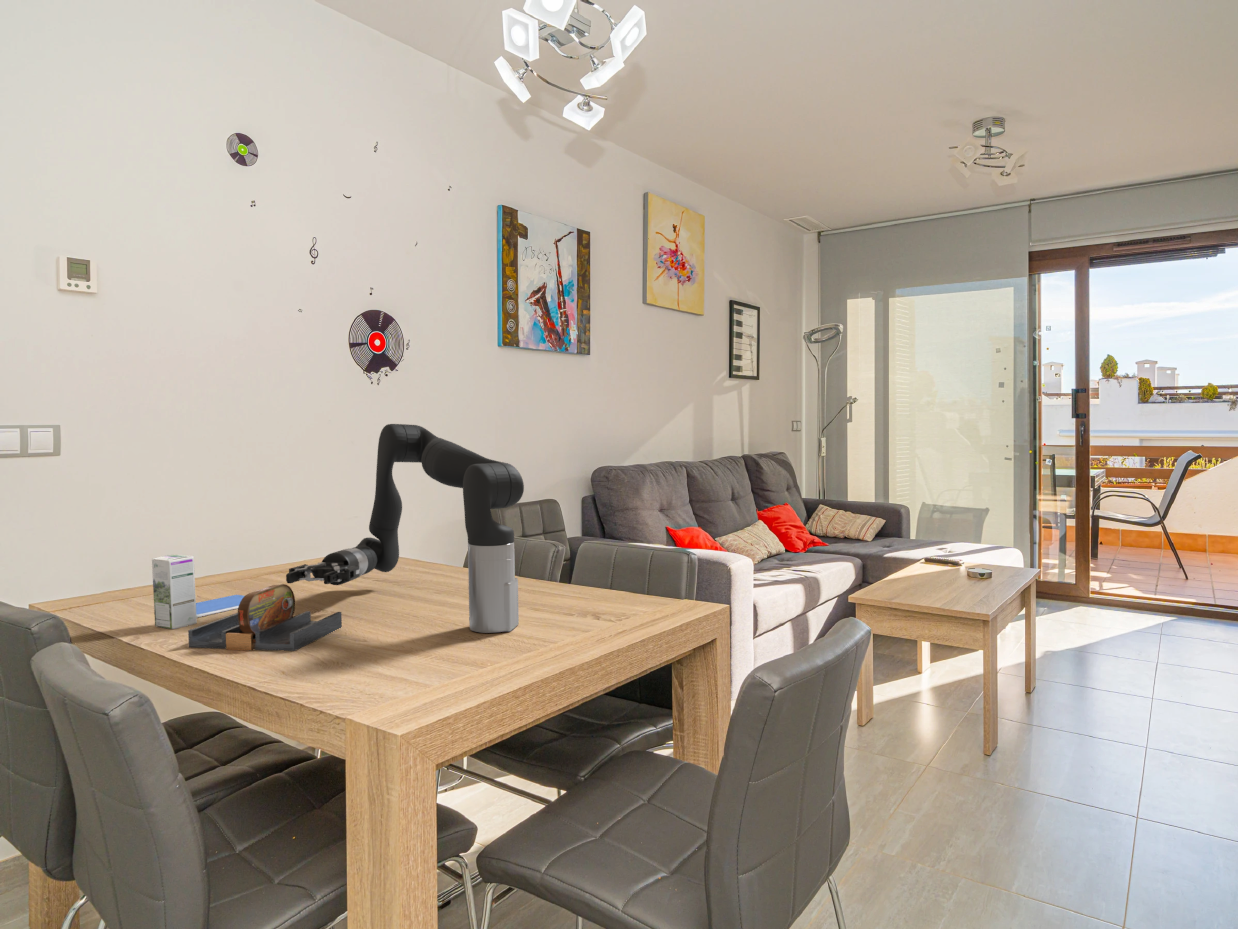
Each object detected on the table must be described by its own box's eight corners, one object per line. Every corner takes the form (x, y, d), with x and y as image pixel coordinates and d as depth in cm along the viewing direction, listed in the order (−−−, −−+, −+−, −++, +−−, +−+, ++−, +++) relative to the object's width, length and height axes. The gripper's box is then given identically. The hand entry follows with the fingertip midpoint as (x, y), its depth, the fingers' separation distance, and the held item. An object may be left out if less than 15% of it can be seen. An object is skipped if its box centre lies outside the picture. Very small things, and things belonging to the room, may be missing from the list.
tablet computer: (237, 598, 186) (237, 593, 186) (272, 603, 181) (272, 598, 181) (159, 615, 169) (159, 609, 169) (195, 621, 164) (195, 615, 163)
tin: (250, 641, 140) (249, 596, 140) (235, 640, 141) (233, 595, 140) (297, 621, 155) (296, 580, 155) (283, 621, 156) (282, 580, 155)
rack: (341, 627, 154) (341, 612, 154) (292, 652, 137) (291, 634, 137) (246, 624, 157) (246, 609, 157) (186, 648, 140) (186, 631, 140)
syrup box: (198, 623, 159) (195, 555, 159) (171, 630, 154) (168, 559, 153) (180, 621, 162) (177, 553, 161) (153, 627, 156) (150, 557, 156)
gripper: (316, 549, 178) (275, 561, 162) (373, 550, 176) (337, 562, 160) (317, 581, 178) (276, 595, 162) (374, 582, 176) (338, 597, 160)
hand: (306, 579), depth 161 cm, fingers open, 8 cm apart
